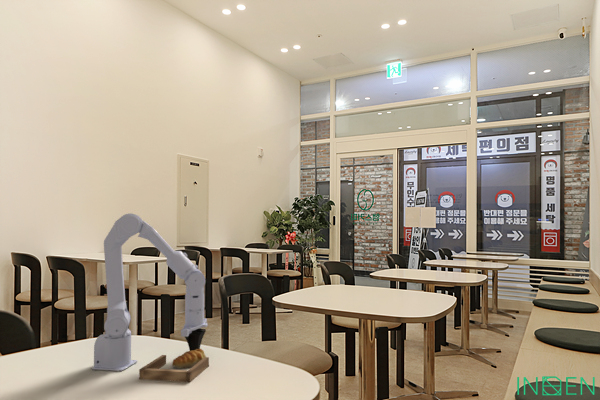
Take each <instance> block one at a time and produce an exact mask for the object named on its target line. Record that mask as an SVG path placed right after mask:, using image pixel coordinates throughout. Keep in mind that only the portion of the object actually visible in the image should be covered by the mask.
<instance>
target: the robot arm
mask: <svg viewBox="0 0 600 400" xmlns="http://www.w3.org/2000/svg"><path fill="white" fill-rule="evenodd" d="M137 234H138V235H137ZM135 235H137V237H138V238H142V239H145V240H147V241H149V242H150V243H151V244H152V245H153V246H154V247H155V248H156V249H157V250H158V251H159V252H160V253H161V254H162V255H164V256H165V258H166V265H167V266H168V267H169V269H171V270H172V272H174V273H175V275H176V276H177V277H178V278H179V279H180V280H183V281H184V284H185V286H186V287H185V295H184V299H185V300H184V310H185V311H184V325H183V327H182V329H180V337H182V338H183V337H184V338H185V340H186V342H187V346H188V348H189V349H188V351H191V350H196V349H201V345H202V341H203V338H204V336H205V333H206V328H207V327H208V326H209V323H208V318H205V293H204V292H205V287H204V286H205V285H206V277H205V274H204V273H203V272H202V271H201V270H200V269H198V268H199V266H198V265H197V264H194V263H193V262H192V261H191V260H190V259H189V257H188V254H187V253H186V252H183V251H182V250H175V249H174V248H173V247H171V245H170V244H169V243H168V242H167V241H166V239H164V237H162V235H161V234H160V233H159V232H158V231H157V230H156V229H155V228H154V227H153V226H151V225H150V224H149V223H148V222H147V221H145V220H143V219H142V217H140V215H138V214H135V213H133V212H132V213H131V212H130V213H125V214H123V215H122V216H120V217H119V218H118V219H117V220H115V221H114V223H113V225H112V227H111V228H110V230H109V232H108V233H107V235H106V237H105V238H104V241H103V252H104V253H103V254H104V263H105V265H104V267H105V268H104V269H105V280H106V283H105V284H106V294H107V296H106V297H107V308H106V314H107V316H106V320H105V322H104V327H103V328H104V329H103V330H104V333H103V334H100V335H99V336H97V338H96V340H94V341H95V342H94V345H93V366H92V368H91V370H95V371H96V370H100V371H115V372H122V371H124V370H126V369H128V368H129V367H131V366H133V365H135V364H136V363H138V360H137V359H136V360H135V359H132V331H131V330H130V329H129V325H130V323H131V321H132V320H131V318H132V317H131V314H130V313H131V312H130V311H129V310H128V307H127V302H126V290H125V278H124V263H123V249H122V246H123V245H124V244H125V243H127V241H128V240H130V238H132V237H133V236H135Z"/></svg>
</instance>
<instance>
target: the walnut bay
mask: <svg viewBox="0 0 600 400" xmlns="http://www.w3.org/2000/svg"><path fill="white" fill-rule="evenodd" d="M166 364H167V354H161V355H160V356H159V357H157V358H156V359H154V360H152V361H151V362H149V363H146V365H144V366H142V367H141V368H139V370H138V371H139V373H138V376H139V377H138V380H144V381H145V380H148V381H163V382H164V381H166V382H179V383H181V382H182V383H191V382H192V381H194V380H195V379H196V378H197V377H198V376H199V375H200V374H202V373H203V372H204V371H205V370H206V369H208V367H209V365H210V357H209V356H206V357H204V358H203V359H202V360H201V361H199V362H198V363H197V364H196V365H194V366H193V367H190V368H188V370H187V369H186V370H184V369H183V370H182V369H169V368H168V369H166V368H165V369H164V368H162V367H164V366H165V365H166Z"/></svg>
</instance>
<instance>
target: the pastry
mask: <svg viewBox="0 0 600 400" xmlns="http://www.w3.org/2000/svg"><path fill="white" fill-rule="evenodd" d="M204 357H207V356H206V353H205V351H204V349H202V348H200V349H196V350H191V351H190V350H187V351H185V352H183V354H181V355H178V356H177V357H175V358H174V359H173V361H172V364H171V365H172V367H174V368H178V369H180V370H182V369H186V368H187V369H191V368H192V367H193V366H194V365H196V364H197V363H198V362H199V361H201V360H202V359H203V358H204Z"/></svg>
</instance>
